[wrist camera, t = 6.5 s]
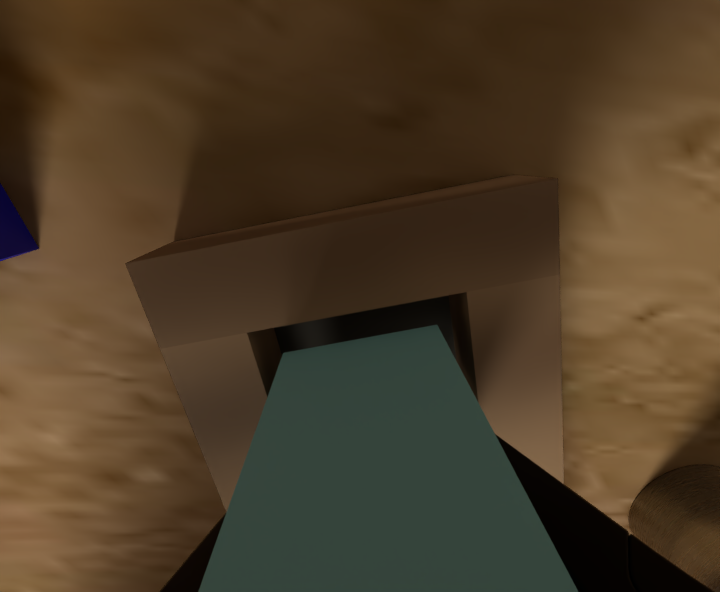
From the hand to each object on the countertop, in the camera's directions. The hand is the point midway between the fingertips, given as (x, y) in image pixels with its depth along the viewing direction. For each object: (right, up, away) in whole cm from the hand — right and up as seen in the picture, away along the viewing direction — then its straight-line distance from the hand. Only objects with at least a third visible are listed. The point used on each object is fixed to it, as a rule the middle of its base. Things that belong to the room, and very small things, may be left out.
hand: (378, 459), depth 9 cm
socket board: (0, -1, +5) cm, 5 cm away
